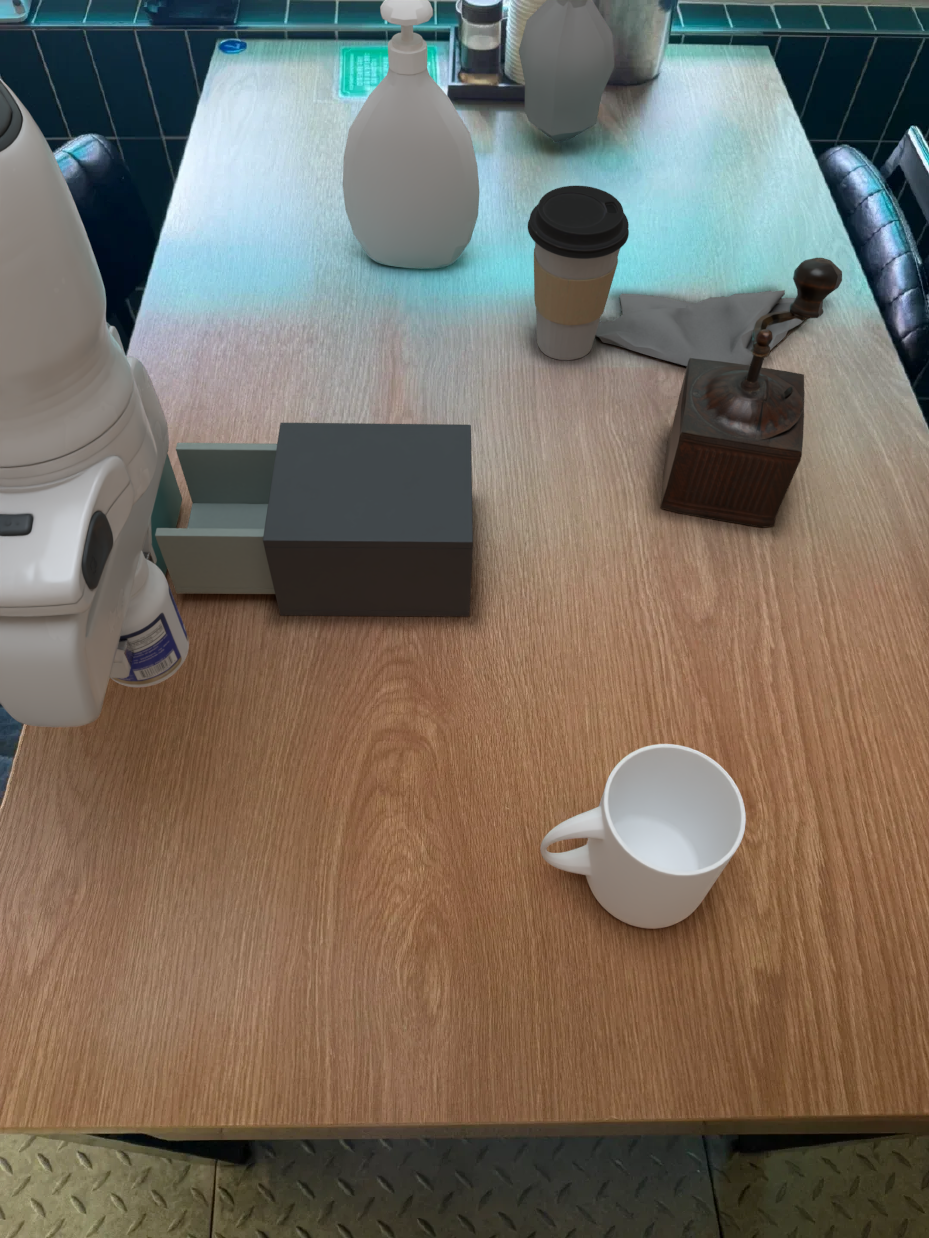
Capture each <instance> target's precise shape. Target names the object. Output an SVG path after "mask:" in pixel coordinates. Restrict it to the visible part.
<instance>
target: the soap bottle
mask: <svg viewBox="0 0 929 1238" xmlns="http://www.w3.org/2000/svg"><path fill="white" fill-rule="evenodd" d="M379 8H380V10H379V11H380V15H381V19H382V20H384V21H385V22H387V23H390V24H392V25H396V26H397V25H398V26H400V32H398V33H395V34H393V36H392V37H391V38H390V40H389V41H388V43H387V54H388V55H387V57H388V70H387V73H386V75H385V76H384V77H383V78H382V80H380V82H379V83H378V84H377V86H375V88H374V89H373V90H372V91H371V92H370V94H369V95H368V96H367V98H366V100H365V101H364V103H363V105H362V106H361V108H360V110H359V112H358V113H357V115H356V116H355V118H354V120H353V121H352V123H351V125H350V126H349V128H348V132H347V137H346V143H345V147H344V152H343V159H342V160H343V162H342V163H343V165H342V169H343V170H342V192H343V200H344V209H345V213H346V216H347V219H348V222H349V225H350V228H351V231H352V234H353V237H354V238H355V239H356V241H357V243H359V245H360V246H361V248H362V249H363V251H364V252H365V254H366V255H367V256H368V258H370V259H371V260H372V261H374V262H376V263H378V264H380V265H381V264H382V265H383V266H389V267H390V266H391V267H396V268H405V269H426V270H427V269H440V268H447V267H449V266H451V265H453V264H454V263H455V262H457V260H458V259H459V258H460V257H461V255H462V254H463V253H464V251H465V249H466V248H467V247H468V246H469V244H470V242H471V240H472V238H473V233H474V231H475V228H476V223H477V220H478V217H479V208H480V207H479V206H480V181H479V170H478V161H477V157H476V153H475V148H474V144H473V140H472V134H471V132H470V131H469V128H468V127H467V125H466V124H465V123H464V122H465V121H463V119H462V117H461V115H460V114H459V112H458V111H457V109H456V107H455V106H454V104H453V103H452V101H451V99H450V98H449V96H448V95H447V94H446V92H445V91H444V90H443V89H442V88H441V86H440V85H439V84H438V83H437V82H436V81H435V80H434V78H433V77H432V76H431V75H430V72H429V70H428V44H427V43H428V42H427V41H426V40H425V39H424V38H423V36H422V35H421V34H419V33H417V32H414V26H419V25H422V24H424V23H427V22H429V21H430V20H431V18H432V17H434V9H433V7H432V3H431V2H430V1H429V0H383V2H382V3H381V5H380V6H379Z"/></svg>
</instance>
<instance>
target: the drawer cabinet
mask: <svg viewBox="0 0 929 1238" xmlns="http://www.w3.org/2000/svg"><path fill="white" fill-rule="evenodd" d="M278 430H279V431H278V436H277V443H276V444H277V449H276V455H275V462H274V469H273V475H272V482H271V489H270V495H269V502H268V509H267V515H266V522H265V529H264V535H263V543H264V548H265V552H266V557H267V561H268V565H269V569H270V574H271V578H272V582H273V586H274V591H275V594H274V595H275V599H276V603H277V608H278V611H279V615H280V616H296V617H297V616H299V617H300V616H310V617H311V616H313V617H317V616H319V617H320V616H322V617H326V616H327V617H455V618H456V617H457V618H458V617H461V618H462V617H463V618H464V617H465V618H466V617H467V618H468V617H470V615H471V594H472V592H471V591H472V572H473V571H472V570H473V553H474V552H473V551H474V549H473V548H474V524H473V523H474V522H473V520H474V519H473V465H472V464H473V463H472V461H473V460H472V459H473V458H472V424H462V423H461V424H457V423H456V424H453V423H450V424H448V423H446V424H445V423H444V424H443V423H366V422H365V423H364V422H363V423H362V422H361V423H359V422H358V423H357V422H356V423H355V422H280V423H279V428H278Z"/></svg>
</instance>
